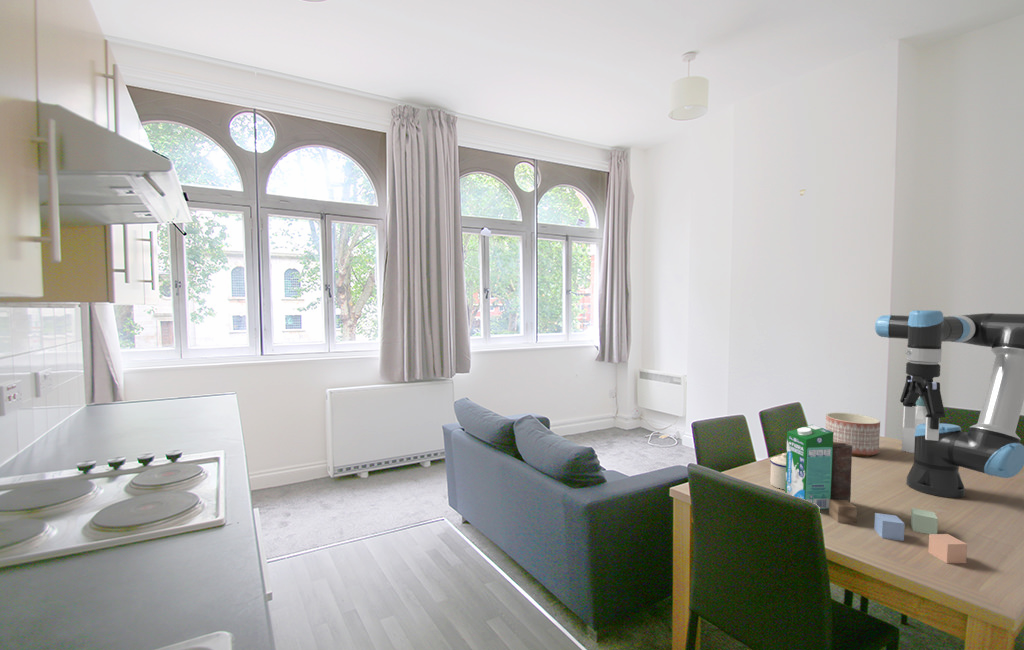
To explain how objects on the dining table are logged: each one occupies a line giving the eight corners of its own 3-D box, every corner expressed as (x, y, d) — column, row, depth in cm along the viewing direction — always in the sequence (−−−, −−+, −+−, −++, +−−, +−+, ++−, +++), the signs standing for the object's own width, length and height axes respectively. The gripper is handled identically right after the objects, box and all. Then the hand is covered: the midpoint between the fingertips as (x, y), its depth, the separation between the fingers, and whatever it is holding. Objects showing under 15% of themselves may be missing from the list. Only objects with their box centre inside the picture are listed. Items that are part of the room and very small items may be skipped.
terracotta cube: (946, 552, 121) (947, 534, 121) (966, 563, 116) (967, 544, 116) (928, 552, 121) (929, 534, 121) (946, 563, 116) (947, 544, 116)
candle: (842, 510, 145) (844, 448, 144) (817, 501, 151) (819, 441, 150) (855, 505, 148) (857, 444, 147) (830, 497, 155) (833, 438, 154)
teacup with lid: (794, 493, 158) (795, 460, 157) (765, 485, 165) (766, 453, 164) (805, 484, 166) (806, 452, 165) (777, 477, 173) (778, 446, 172)
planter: (838, 456, 196) (840, 422, 195) (816, 443, 215) (818, 411, 214) (889, 459, 193) (890, 424, 192) (862, 445, 211) (863, 413, 211)
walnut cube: (846, 516, 141) (847, 500, 141) (856, 524, 136) (856, 507, 136) (828, 515, 142) (829, 499, 142) (837, 522, 137) (838, 506, 137)
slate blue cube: (895, 532, 131) (896, 515, 131) (903, 541, 127) (904, 523, 126) (874, 529, 133) (875, 512, 133) (881, 538, 128) (882, 520, 128)
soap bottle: (937, 452, 201) (940, 390, 199) (934, 457, 195) (938, 393, 194) (905, 446, 209) (907, 387, 208) (901, 450, 204) (904, 389, 202)
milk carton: (784, 497, 154) (787, 424, 153) (810, 497, 155) (812, 423, 154) (804, 510, 145) (806, 432, 144) (830, 509, 146) (833, 431, 145)
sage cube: (933, 528, 134) (934, 512, 133) (937, 536, 129) (937, 518, 129) (910, 524, 136) (911, 507, 136) (913, 531, 132) (914, 514, 132)
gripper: (889, 357, 148) (886, 422, 149) (929, 367, 125) (925, 444, 126) (917, 358, 146) (914, 424, 147) (964, 368, 122) (960, 447, 124)
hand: (919, 433), depth 137 cm, fingers open, 13 cm apart
